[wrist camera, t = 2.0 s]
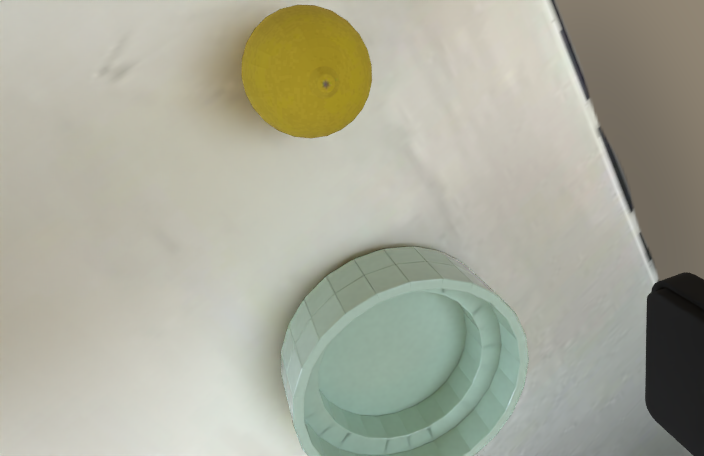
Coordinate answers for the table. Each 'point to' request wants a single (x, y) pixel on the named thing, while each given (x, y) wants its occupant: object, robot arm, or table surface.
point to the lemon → (306, 71)
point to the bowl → (402, 359)
